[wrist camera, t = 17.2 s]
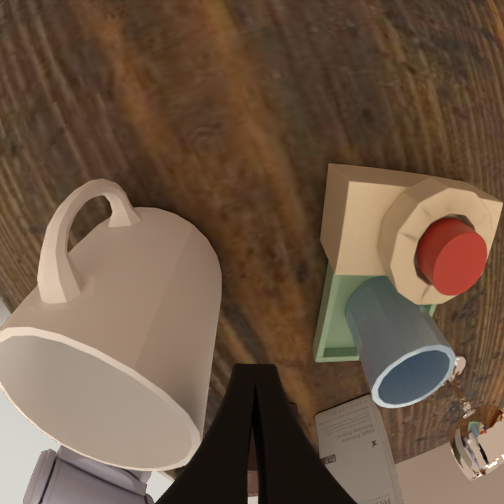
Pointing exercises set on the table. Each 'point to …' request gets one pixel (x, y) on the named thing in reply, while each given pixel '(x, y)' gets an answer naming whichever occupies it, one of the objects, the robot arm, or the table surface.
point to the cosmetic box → (358, 451)
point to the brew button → (451, 256)
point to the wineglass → (476, 433)
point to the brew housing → (396, 222)
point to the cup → (396, 344)
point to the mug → (117, 335)
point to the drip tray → (338, 318)
